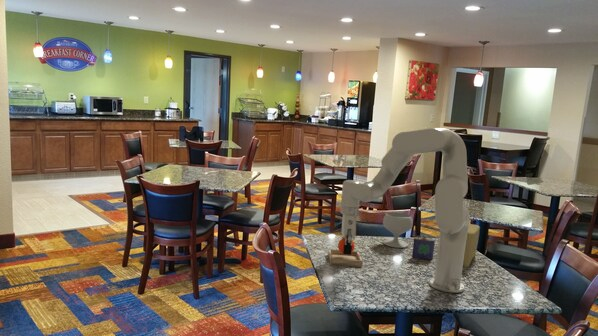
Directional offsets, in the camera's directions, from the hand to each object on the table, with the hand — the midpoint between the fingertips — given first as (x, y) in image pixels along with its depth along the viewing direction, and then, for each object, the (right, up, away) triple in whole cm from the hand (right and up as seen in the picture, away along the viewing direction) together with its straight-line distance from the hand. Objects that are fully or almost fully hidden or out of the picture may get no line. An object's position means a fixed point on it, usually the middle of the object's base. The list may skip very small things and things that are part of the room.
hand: (346, 250), depth 196 cm
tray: (-1, -4, +1) cm, 4 cm away
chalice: (+27, -3, +31) cm, 41 cm away
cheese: (+55, -7, +15) cm, 58 cm away
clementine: (0, -2, 0) cm, 2 cm away
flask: (+35, -6, +12) cm, 38 cm away
